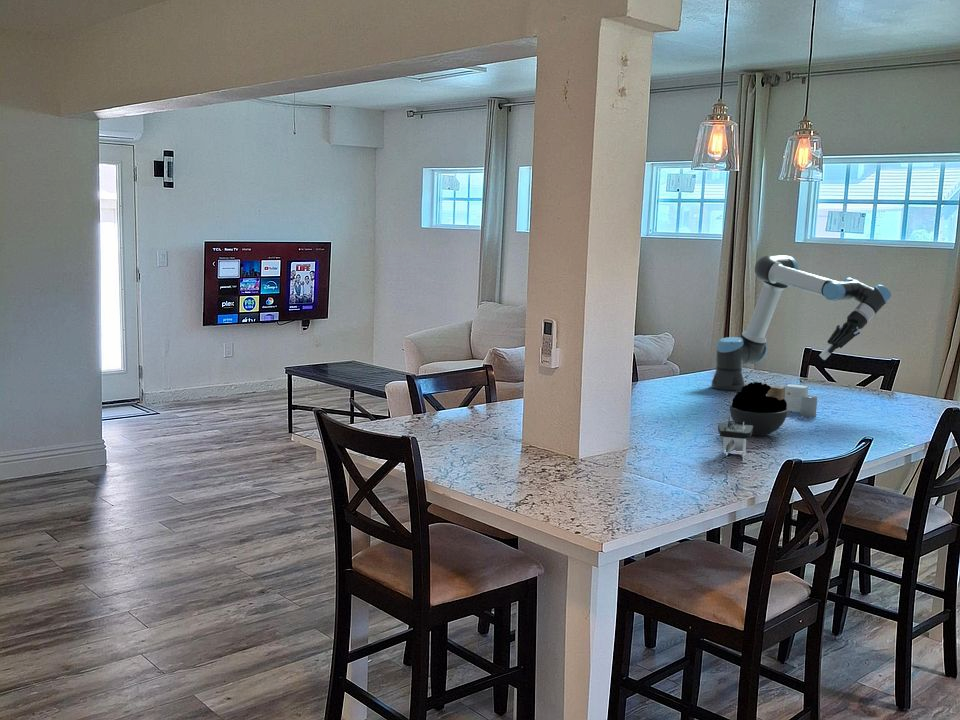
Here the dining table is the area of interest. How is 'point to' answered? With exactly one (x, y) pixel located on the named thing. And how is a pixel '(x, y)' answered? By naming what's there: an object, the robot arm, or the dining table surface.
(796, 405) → the small box
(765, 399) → the bowl of black rocks
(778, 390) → the walnut block
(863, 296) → the robot arm
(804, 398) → the white rectangular block
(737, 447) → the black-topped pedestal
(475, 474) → the dining table surface
